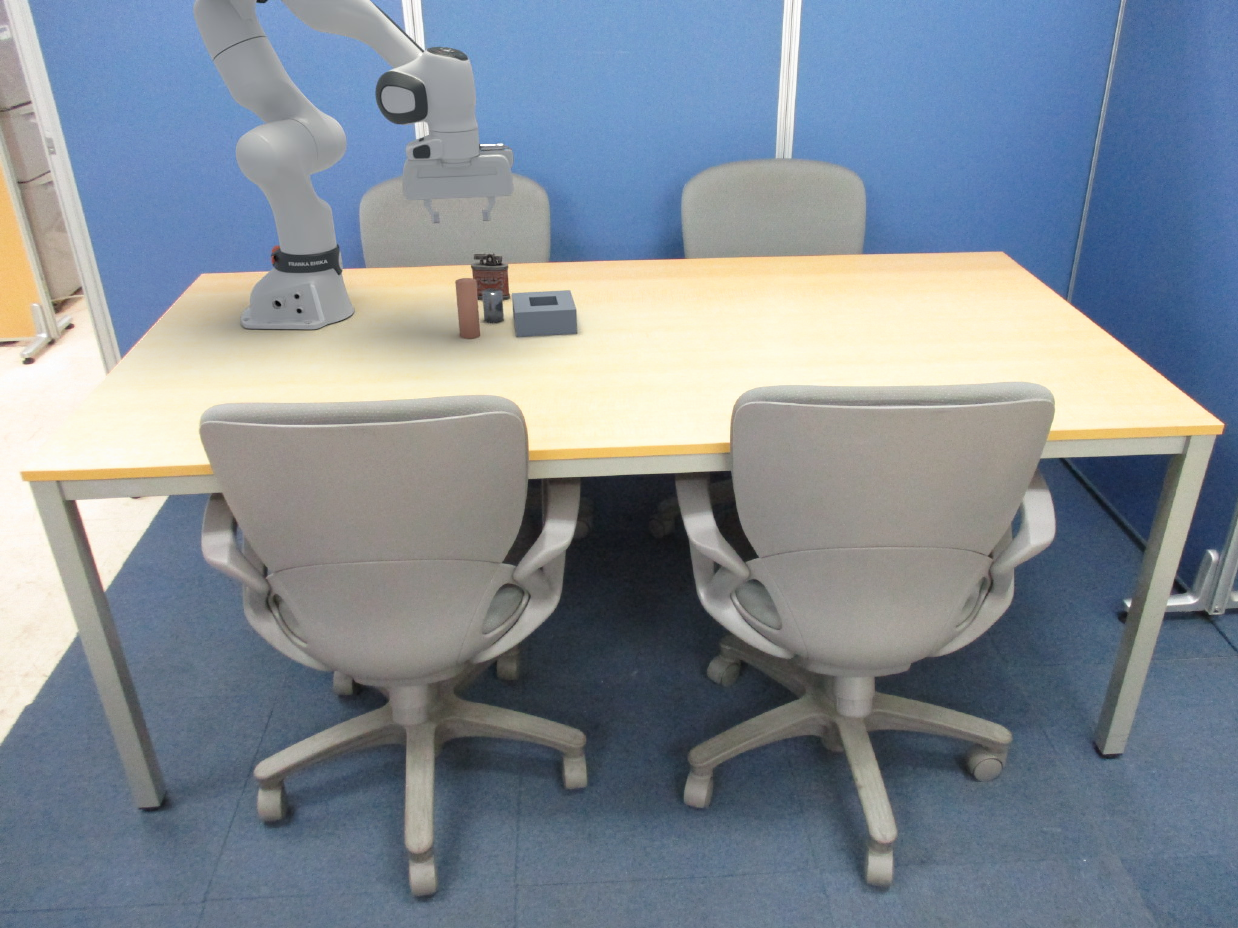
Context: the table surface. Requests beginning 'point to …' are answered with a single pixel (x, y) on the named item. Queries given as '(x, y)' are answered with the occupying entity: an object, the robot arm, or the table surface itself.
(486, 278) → the lighter
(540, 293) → the bore block
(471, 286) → the long pin
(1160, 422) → the table surface
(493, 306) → the short pin
